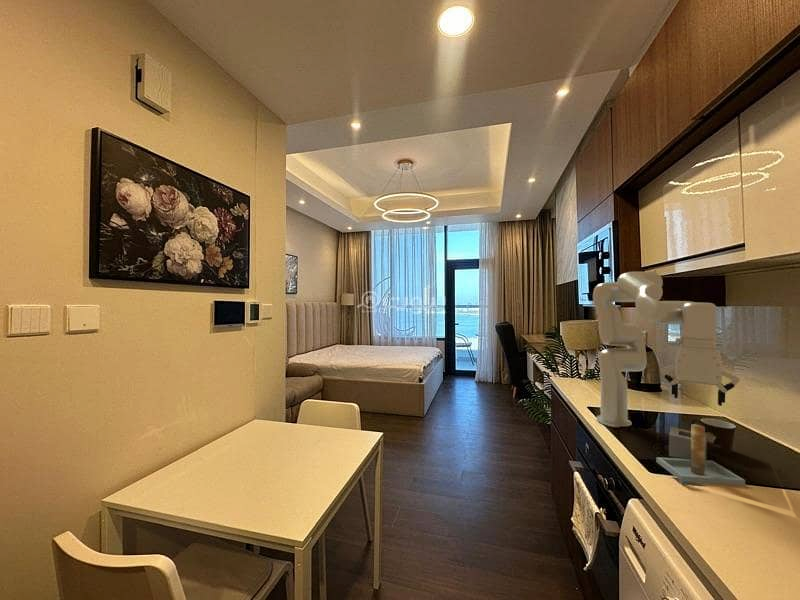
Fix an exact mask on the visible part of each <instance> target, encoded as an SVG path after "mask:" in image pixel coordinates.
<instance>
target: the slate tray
mask: <svg viewBox="0 0 800 600" xmlns="http://www.w3.org/2000/svg"><path fill="white" fill-rule="evenodd" d="M655 460H656V461H655V462H656V463H657V464H658V465H659V466H661V467H662V468H663V469H665V470H666V471H667V472H668V473H670V474H671V475H673V476H670V477H671V478H672V479H674V480H675V481H676V482H677V483H679V484H680V485H681V486H694V487H706V488H707V486H706V485H703V484H714V485H730V486H742V487H743V486H744V487H745V486H746V479H744V478H743V477H740V476H739V475H737V474H736V473H734V472H732V471H731V470H729V469H728V468H725V467H724V466H722V465H721V464H718V462H716V461H714V460H708V459H706V460H705V475H704V476H700V475H696V474H694V473H692V472H691V459H679V458H675V457H660V456H659V457H655ZM700 483H701V484H700Z"/></svg>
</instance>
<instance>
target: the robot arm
mask: <svg viewBox="0 0 800 600" xmlns="http://www.w3.org/2000/svg"><path fill="white" fill-rule="evenodd" d="M616 280H617V281H609V282H607V281H605V282H602V283H598V284H597V285H596V286H595V287H594V288H593V293H592V301H593V304H594V307H595V310H596V314H597V319H598V320H597V321H598V329H599V338H600V341H601V342H602V344H604V345H607V346H626V348H605V349H603V350H601V351H600V352H599V353H598V354H597V355H598V356H597V359H598V360H597V361H598V366H599V371H600V408H599V412H600V414H599V415H597V416H596V421H597V422H598V423H600V424H602V425H604V426H607V427H611V428H616V429H617V428H618V429H619V428H620V427H629V426H632V424H633V423H632V421H631V420H629V419H628V380H627V379H626V378H625V375H623V373H622V372H624V373H625V372H642V371H644V370H645V369H646V368H647V364H648V360H647V359H648V357H647V351H646V342H645V340H646V339H645V335H644V332H643V330H642V328H641V327H640V326H639V325H638V324H635V323H630V322H629V323H623V321H622V313H621V311H620V309H619V308H618V307H617V306H616V305H615V304H614V303H635V309H636V311H637V313H638V314H639V315H640V316H641V317H643V318H644V319H645V320H647V321H649V322H650V323H653V324H655V325H656V324H657V325H676V326H677V325H681V337H679V338H675V343H676V344H680V345H681V346H678V347H677V351H676V356H675V363H674V364H672V365H667V366H664V367H661V368H660V372H661V373H662V376H663V377H664V379H665V380H667V381H668V382H669V383H670V385H671V395H674V397H673V398H674V399H678V398H679V397H678V396H679V384H678V383H679V382H681V381H683V382H688V383H696V384H703V385H709V386H710V385H712V386H716V387H717V388H718V390H717V405H718V406H719V407H722V406H723V404H726V393H727V392H728V391H730V390H732V389H734V388H735V387H736V385H738V383H739V382H740V380H741V379H740V377H738V376H737V375H734V374H732V373H729V372H727V371H726V370H724V369H723V366H722V365H723V364H722V356H721V351H720V350H719V349H717V319H718V318H717V316H718V308H717V305H715V303H712V302H696V301H695V302H694V301H690V300H688V301H687V300H683V301H682V300H662V301H661V298H662V296H663V292H664V291H663V288H662V287H663V284H664V282H663V277H661V275H660V274H658V273H657V272H654V271H627V272H623V273H622V274H620V275H619V276H618V278H617V279H616ZM671 371H674V372H675V373H674V375H675V376H674V377H672V376H671V375H669V372H671ZM723 376H724V377H726V378H728V379H730V381H729V382H728V383H726V384H723V382H722V381H723Z"/></svg>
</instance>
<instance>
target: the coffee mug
mask: <svg viewBox="0 0 800 600" xmlns="http://www.w3.org/2000/svg"><path fill="white" fill-rule="evenodd" d="M695 422H698V423H699V424H700V425H701V426H704V427H705V434H706V443H707V448H706V450H710V451H711V452H714V453H720V454H730V455H731V453H732V451H733V445H734V439H735V434H736V433H735V432H736V425H735V424H733V423H731V422H727V421H725V420H720V419H714V418H701V419H700V420H698V419H694V420H692V421H691V424H695Z"/></svg>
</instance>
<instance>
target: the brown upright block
mask: <svg viewBox="0 0 800 600" xmlns="http://www.w3.org/2000/svg"><path fill="white" fill-rule="evenodd" d="M690 431H691V472H692V473H694V474H696V475H700V476H704V475H705V427H704V426H702V425H701V424H697V423H694V424H691V425H690Z"/></svg>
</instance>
